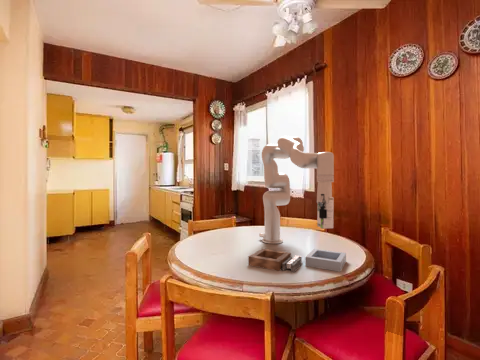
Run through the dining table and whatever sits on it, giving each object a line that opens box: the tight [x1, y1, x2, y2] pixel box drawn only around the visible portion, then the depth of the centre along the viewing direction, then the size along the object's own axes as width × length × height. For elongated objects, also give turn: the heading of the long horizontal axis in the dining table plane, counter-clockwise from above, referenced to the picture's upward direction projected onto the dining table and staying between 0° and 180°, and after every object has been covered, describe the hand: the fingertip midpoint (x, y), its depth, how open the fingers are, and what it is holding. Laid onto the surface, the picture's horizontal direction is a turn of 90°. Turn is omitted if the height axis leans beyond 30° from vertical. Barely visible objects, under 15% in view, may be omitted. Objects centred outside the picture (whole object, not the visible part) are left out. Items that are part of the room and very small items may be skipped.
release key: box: [287, 254, 303, 270], centre depth 118 cm, size 3×13×3 cm, turn 149°
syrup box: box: [316, 196, 335, 230], centre depth 120 cm, size 6×6×14 cm
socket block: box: [247, 248, 302, 273], centre depth 120 cm, size 21×15×4 cm
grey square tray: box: [305, 248, 347, 272], centre depth 120 cm, size 15×15×4 cm
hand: (325, 216), depth 120 cm, fingers closed on syrup box, 8 cm apart
